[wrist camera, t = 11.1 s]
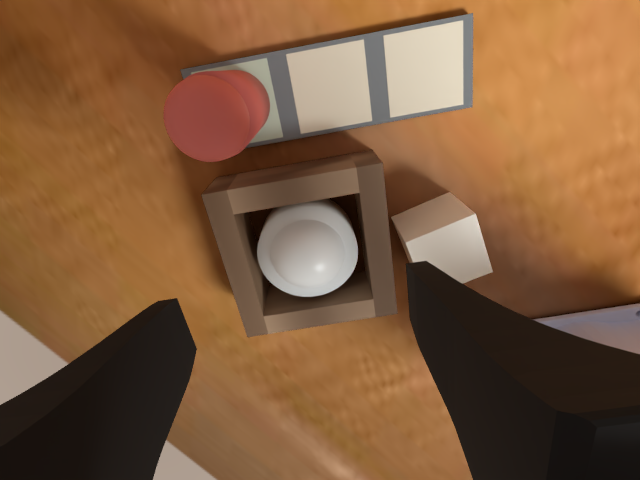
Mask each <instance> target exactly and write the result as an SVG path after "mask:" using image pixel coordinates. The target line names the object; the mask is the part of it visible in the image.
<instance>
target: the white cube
mask: <svg viewBox="0 0 640 480" xmlns="http://www.w3.org/2000/svg"><path fill="white" fill-rule="evenodd" d="M391 218H392V221H393V223H394V226H395V228H396V231H397V233H398V236H399V238H400V241H401V243H402V245H403V248H404V250H405V253H406V255H407V258H408V260H409V263H414V262H420V261H428V262H429V263H431V264H432V265H434V266H435V267H437V268H439V269H440V270H442V271H443V272H445V273H446V274H448V275H449V276H451V277H452V278H454V279H456V280H457V281H459V282H460V283H462V284H463V283H466V282H468V281H471V280H473V279H476V278H479V277H481V276H484V275H486V274H489V273H492V272H493V270H492V267H491V264H490V260H489V257H488V253H487V250H486V247H485V243H484V240H483V237H482V233H481V230H480V226H479V223H478V220H477V216H476V213H474V212H473V211H472V210H471V209H470V208H469V207H467V206H466V205H465V204H464V203H463V202H461V201H460V200H459V199H458V198H457V197H456V196H454V195H453V194H452V193H451V192H448V193H446V194H443V195H441V196H439V197H436V198H434V199H432V200H429V201H427V202H425V203H422V204H420V205H418V206H415V207H413V208H411V209H408V210H406V211H404V212H401V213H399V214H397V215H394V216H392V217H391Z"/></svg>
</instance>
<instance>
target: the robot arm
mask: <svg viewBox="0 0 640 480" xmlns="http://www.w3.org/2000/svg"><path fill="white" fill-rule="evenodd" d="M406 272H407V286H408V300H409V314H410V321H411V324H412V327H413V330H414V334H415V337H416V340H417V343H418V346H419V348H420V351H421V353H422V355H423V357H424V359H425V362H426V364H427V366H428V368H429V370H430V372H431V375H432V377H433V379H434V381H435V383H436V385H437V387H438V390H439V392H440V394H441V396H442V398H443V400H444V403H445V405H446V407H447V409H448V411H449V414H450V416H451V419H452V421H453V423H454V426H455V428H456V431H457V434H458V437H459V440H460V443H461V446H462V448H463V451H464V454H465V457H466V460H467V463H468V466H469V469H470V472H471V475H472V478H473V480H640V303H638V304H632V305H625V306H619V307H612V308H605V309H599V310H592V311H586V312H579V313H573V314H566V315H559V316H553V317H546V318H540V319H533V320H532V319H530V318H528V317H525V316H523V315H521V314H518V313H516V312H514V311H512V310H510V309H508V308H505V307H503V306H501V305H499V304H498V303H496V302H494V301H492V300H490V299H488V298H486V297H484V296H482V295H481V294H479V293H477V292H475V291H474V290H472V289H470V288H469V287H467V286H465V285H464V284H462V283H460V282H459V281H457V280H456V279H454V278H452V277H451V276H449V275H448V274H446V273H445V272H443V271H442V270H440V269H439V268H437V267H435V266H434V265H432V264H431V263H429V262H428V261H420V262H414V263H407V264H406ZM196 350H197V348H196V346H195V343H194V341H193V338H192V336H191V333H190V330H189V328H188V325H187V323H186V320H185V318H184V315H183V313H182V310H181V308H180V305H179V302H178V300H177V298H176V299H169V300H162V301H158V302H156V303H154V304H152V305H151V306H149V307H148V308H146V309H145V310H143V311H142V312H141V313H139V314H138V315H136V316H135V317H134V318H132V319H131V320H129V321H128V322H127V323H125V324H124V325H123V326H121V327H120V328H119V329H117V330H116V331H115V332H113V333H112V334H111V335H109V336H108V337H106V338H105V339H104V340H102V341H101V342H100V343H98V344H97V345H95V346H94V347H93V348H91V349H90V350H88V351H87V352H85V353H84V354H82V355H81V356H80V357H78V358H77V359H75V360H74V361H72V362H71V363H70V364H68V365H67V366H65V367H64V368H62V369H61V370H59V371H58V372H56V373H54V374H53V375H51V376H50V377H48V378H47V379H45V380H43V381H42V382H40V383H38V384H37V385H35V386H33V387H32V388H30V389H28V390H27V391H25V392H23V393H21V394H20V395H18V396H16V397H14V398H13V399H11V400H9V401H7V402H5V403H3V404H1V405H0V480H153V476H154V473H155V469H156V466H157V463H158V460H159V457H160V454H161V452H162V449H163V446H164V443H165V441H166V439H167V436H168V433H169V431H170V428H171V426H172V423H173V421H174V418H175V416H176V413H177V411H178V408H179V406H180V403H181V401H182V398H183V395H184V393H185V390H186V387H187V385H188V382H189V379H190V376H191V372H192V368H193V364H194V359H195V354H196Z"/></svg>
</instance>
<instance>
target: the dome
mask: <svg viewBox="0 0 640 480" xmlns="http://www.w3.org/2000/svg"><path fill="white" fill-rule="evenodd" d="M257 257H258V262H259V265H260V268H261V270H262V272H263V274H264V275H265V276H266V278H267V279H268V280H269V281H270V282H271V283H272V284H273V285H274V286H275V287H277V288H279V289H280V290H282V291H284V292H286V293H289V294H292V295H296V296H302V297H313V296H320V295H324V294H327V293H329V292H331V291H333V290H335V289H337V288H338V287H340V286H341V285H342V284H344V283H345V282H346V280H347V279H348V278H349V277H350V276H351V274H352V272H353V271H354V269H355V266H356V263H357V259H358V245H357V241H356V237H355V234H354V230H353V226H352V224H351V221H350V219H349V217H348V215H347V214H346V212H345V211H344V210H343V209H342V208H341V207H340V206H339V205H338V204H336V203H335V202H333V201H332V200H330V199H321V200H315V201H309V202H303V203H298V204H292V205H286V206H280V207H274V208H273V209H272V211H271V212H270V213H269V214H268V216H267V218H266V220H265V222H264V225H263V228H262V232H261V235H260V238H259V242H258V248H257Z"/></svg>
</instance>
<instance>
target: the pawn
mask: <svg viewBox="0 0 640 480" xmlns="http://www.w3.org/2000/svg"><path fill="white" fill-rule="evenodd" d="M269 112H270V100H269V96H268V93H267V91H266V89H265V87H264V85H263V84H262V83H261V82H260V81H259V80H258V79H257V78H256V77H255V76H253V75H252V74H250V73H248V72H245V71H241V70H223V71H204V72H198V73H194V74H192V75H190V76H188V77H186V78H185V79H183V80H182V81H181V82H179V83H178V84H177V85H176V86H175V87H174V88H173V89H172V90H171V92H170V93H169V95H168V97H167V99H166V102H165V106H164V123H165V127H166V130H167V133H168V135H169V137H170V139H171V140H172V142H173V143H174V144H175V145H176V146H177V148H178V149H180V150H181V151H182V152H183V153H185V154H186V155H188V156H190V157H192V158H194V159H197V160H200V161H205V162H216V161H221V160H225V159H227V158H230V157H233V156H235V155H237V154H238V153H240V152H241V151H242V150H243V149H244V148H245V147H246V146H247V145H248V144H249V143H250V141H251V140H252V139H253V138H254V137H255V135H256V134H257V133H258V132H259V131H260V129H261V128H262V127H263V126H264V124H265V123H266V121H267V119H268V116H269Z"/></svg>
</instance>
